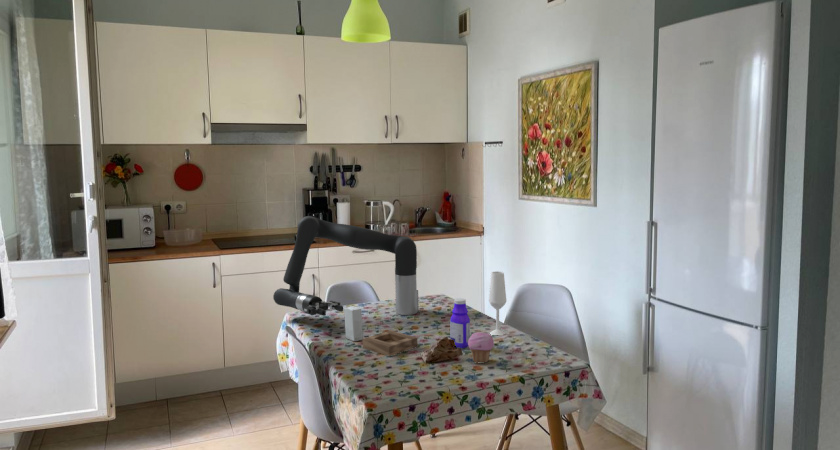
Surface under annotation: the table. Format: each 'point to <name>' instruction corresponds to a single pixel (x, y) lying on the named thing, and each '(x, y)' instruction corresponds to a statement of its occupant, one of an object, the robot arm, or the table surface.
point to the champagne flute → (497, 297)
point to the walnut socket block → (389, 343)
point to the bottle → (460, 324)
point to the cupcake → (480, 346)
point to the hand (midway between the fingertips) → (333, 311)
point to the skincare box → (353, 323)
